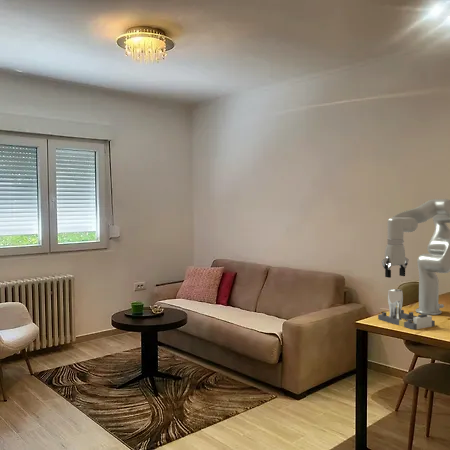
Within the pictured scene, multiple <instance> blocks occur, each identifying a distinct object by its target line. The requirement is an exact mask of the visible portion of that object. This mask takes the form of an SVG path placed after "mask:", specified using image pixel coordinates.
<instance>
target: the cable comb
mask: <svg viewBox="0 0 450 450" xmlns="http://www.w3.org/2000/svg"><path fill="white" fill-rule="evenodd" d="M377 315H378V316H377V319H379V321H382V322H386V323H389V324H393V325H396V326H399V327H403V328H407V329H409V330H413V331H414V330H415V331H416V330H419V329H424V328H432V327H435V325H436V324H435V323H436V322H435V320H433V316H432V315H428V314H421V313H419V314H417V315H414V312H413V311H410V312H408V313H405V310H404V309H401V318H402V320H401V319H397V318H396V315H391V317H390V316H389V315H387V312H386V311H385V312H381V313H380V314H377Z"/></svg>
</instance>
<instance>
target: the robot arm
mask: <svg viewBox="0 0 450 450" xmlns="http://www.w3.org/2000/svg"><path fill="white" fill-rule="evenodd" d="M430 219H432V221H433V225H434V231H433V234H432V236H431V238H430V240H429V242H428V244H427V248H426V249H427V252H428V253H422V254H420V255H419V256H417V260H416V264H417V270H418V308H416V309H415V312H416V313H418V314H427V315H429V316H432V315H433V316H435V315H436V316H437V315H438V316H439V315H441V314H442V310H441V308H444V307H445V305H444V304H443V303H439V285H440V284H439V278H438V275H437V274H436V273H439V274H448V273H450V227H449V226H448V224H450V199H448V198H433V199H429V200H427V201H426V202H425V201H424V203H422V204H420V205H419V206H417V207H415V208H411V209H409V210H406V211H402V212H399V213H397V214H395V215H393V216H392V217H390V218H388V220H387V241H386V242H387V243H386V244H387V245H386V246H385V251H384V257H383V259H382V260H381V264H382V267H383V269H384V271H385V272H384V274H385V275H384V277H385V278H388V279H391V278H392V269H391V268H392V267H393V266H395V267H396V266H399V276H400V277H406V268H407V266H408V265H409V264H408V263H409V258H407V257H406V250H405V245H404V242H405V240H404V235H405V234H404V233H413V232H415V231H417V229H418V226H419V225H418V224H422V223H426V222H427V221H429V220H430Z"/></svg>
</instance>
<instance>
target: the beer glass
mask: <svg viewBox="0 0 450 450" xmlns="http://www.w3.org/2000/svg"><path fill="white" fill-rule="evenodd" d="M403 295H404V294H403V290H402V289H398V288H397V289H395V288H390V289H388V293H387V303H388V309H389V315H388V316H390V317H391V315H396V318H397V319H401V320H403V319H402V318H401V310H403V309H402V308H403V302H404V301H403V300H404V296H403Z"/></svg>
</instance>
